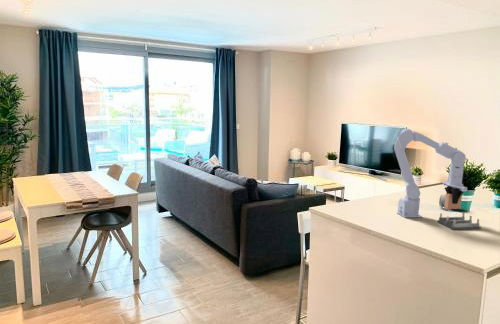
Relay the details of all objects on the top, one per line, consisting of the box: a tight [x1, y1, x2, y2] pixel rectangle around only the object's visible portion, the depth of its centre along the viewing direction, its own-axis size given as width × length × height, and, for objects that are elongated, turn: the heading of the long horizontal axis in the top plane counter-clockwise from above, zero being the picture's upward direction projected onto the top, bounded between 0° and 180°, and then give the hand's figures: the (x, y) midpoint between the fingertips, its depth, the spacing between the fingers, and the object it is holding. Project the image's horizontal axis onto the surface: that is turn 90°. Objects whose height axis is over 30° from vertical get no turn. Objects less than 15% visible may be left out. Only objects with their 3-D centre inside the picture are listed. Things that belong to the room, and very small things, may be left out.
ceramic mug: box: [438, 194, 451, 211], centre depth 207 cm, size 11×8×8 cm
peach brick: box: [444, 193, 463, 210], centre depth 185 cm, size 7×2×7 cm, turn 99°
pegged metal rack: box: [436, 212, 481, 231], centre depth 178 cm, size 14×11×4 cm
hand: (452, 202), depth 185 cm, fingers closed on peach brick, 2 cm apart
